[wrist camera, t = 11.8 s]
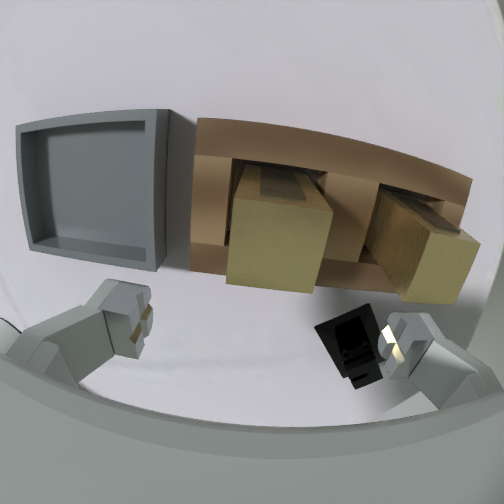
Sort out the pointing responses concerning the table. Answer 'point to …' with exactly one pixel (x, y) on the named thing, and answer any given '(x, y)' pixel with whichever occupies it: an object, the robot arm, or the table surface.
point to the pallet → (328, 184)
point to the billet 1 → (277, 230)
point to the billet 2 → (419, 249)
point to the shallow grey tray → (96, 186)
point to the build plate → (354, 345)
